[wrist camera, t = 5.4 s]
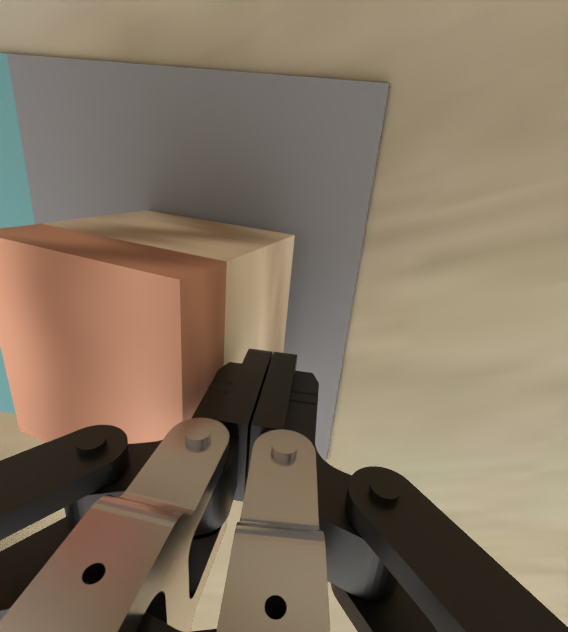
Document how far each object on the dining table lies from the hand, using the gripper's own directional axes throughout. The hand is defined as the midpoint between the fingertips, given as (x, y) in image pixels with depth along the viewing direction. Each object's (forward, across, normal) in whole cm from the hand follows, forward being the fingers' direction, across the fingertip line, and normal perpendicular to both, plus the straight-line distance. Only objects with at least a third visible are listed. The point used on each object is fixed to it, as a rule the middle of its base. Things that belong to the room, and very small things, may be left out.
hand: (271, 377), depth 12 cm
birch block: (+5, +3, 0) cm, 6 cm away
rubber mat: (+7, +11, 0) cm, 13 cm away
